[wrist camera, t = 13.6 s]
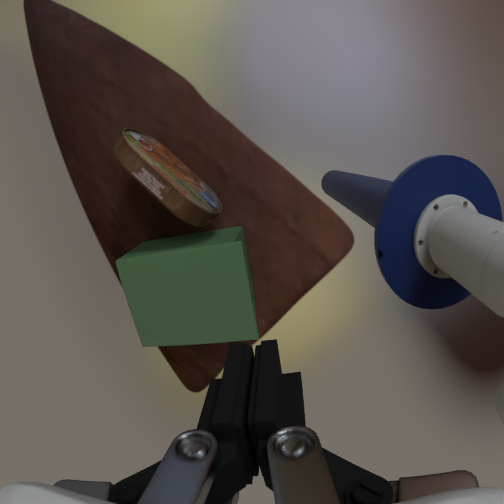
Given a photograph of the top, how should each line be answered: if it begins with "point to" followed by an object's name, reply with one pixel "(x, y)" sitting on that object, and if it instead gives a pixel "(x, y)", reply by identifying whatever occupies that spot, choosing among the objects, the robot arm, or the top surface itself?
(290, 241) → the top surface
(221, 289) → the lid
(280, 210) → the top surface
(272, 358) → the robot arm
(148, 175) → the tin
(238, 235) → the chest
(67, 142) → the top surface
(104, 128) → the top surface
